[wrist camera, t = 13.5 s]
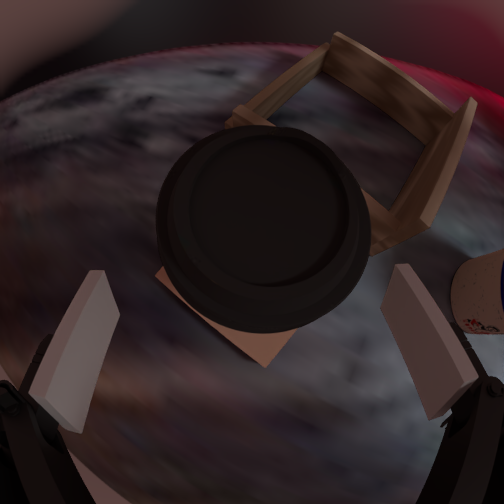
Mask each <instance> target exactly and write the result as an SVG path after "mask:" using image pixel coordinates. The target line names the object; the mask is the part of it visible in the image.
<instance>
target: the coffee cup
mask: <svg viewBox="0 0 504 504" xmlns="http://www.w3.org/2000/svg"><path fill="white" fill-rule="evenodd" d="M156 232H157V242H158V249H159V254H160V258H161V261H162V264H163V267H164V269H165V271H166V274H167V276H168V278H169V279H170V281H171V283H172V284H173V286H174V287H175V289H176V290H177V292H178V293H179V294H180V295H181V297H182V298H183V299H184V300H185V301H186V302H187V303H188V304H189V305H190V306H191V307H192V308H194V309H195V310H196V311H197V312H199V313H200V314H202V315H203V316H204V317H206V318H208V319H209V320H211V321H213V322H215V323H217V324H219V325H222V326H224V327H227V328H230V329H233V330H237V331H241V332H247V333H256V334H271V333H279V332H285V331H289V330H293V329H296V328H299V327H302V326H304V325H307V324H309V323H311V322H313V321H315V320H316V319H318V318H320V317H322V316H323V315H325V314H327V313H328V312H330V311H331V310H333V309H334V308H335V307H337V306H338V305H339V304H340V303H341V302H342V301H343V300H344V299H345V298H346V297H347V296H348V295H349V294H350V293H351V292H352V290H353V289H354V287H355V286H356V285H357V283H358V281H359V280H360V278H361V276H362V274H363V272H364V269H365V267H366V264H367V261H368V257H369V253H370V247H371V220H370V214H369V210H368V206H367V203H366V200H365V197H364V195H363V192H362V190H361V188H360V186H359V184H358V183H357V181H356V179H355V178H354V176H353V175H352V173H351V172H350V171H349V169H348V168H347V167H346V166H345V165H344V163H343V162H342V161H341V160H340V159H339V158H338V157H337V156H336V155H335V153H334V152H333V151H332V150H331V149H330V148H329V147H328V146H326V145H325V144H324V143H323V142H321V141H320V140H318V139H317V138H315V137H313V136H312V135H310V134H308V133H306V132H304V131H302V130H298V129H294V128H288V127H276V126H268V125H245V126H238V127H233V128H229V129H225V130H222V131H219V132H217V133H214V134H212V135H210V136H208V137H206V138H204V139H202V140H201V141H199V142H198V143H196V144H195V145H193V146H192V147H191V148H189V149H188V150H187V151H186V152H185V153H184V154H183V155H182V156H181V157H180V158H179V159H178V160H177V162H176V163H175V164H174V166H173V167H172V168H171V170H170V171H169V173H168V175H167V177H166V179H165V181H164V183H163V185H162V188H161V191H160V194H159V198H158V202H157V208H156Z"/></svg>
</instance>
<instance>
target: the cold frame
mask: <svg viewBox="0 0 504 504" xmlns="http://www.w3.org/2000/svg"><path fill="white" fill-rule="evenodd" d="M321 71H323V72H325V73H327V74H329V75H330V76H332V77H333V78H335V79H337V80H338V81H340V82H342V83H343V84H345V85H346V86H348V87H349V88H351V89H352V90H354V91H355V92H357V93H358V94H360V95H361V96H363V97H364V98H366V99H367V100H369V101H370V102H371V103H373V104H374V105H376V106H377V107H378V108H380V109H381V110H382V111H384V112H385V113H386V114H388V115H389V116H390V117H392V118H393V119H394V120H395V121H397V122H398V123H399V124H401V125H402V126H403V127H404V128H405V129H407V130H408V131H409V132H410V133H412V134H413V135H414V136H415V137H416V138H417V139H419V140H420V141H421V142H422V143H423V144H424V145H426V146H425V148H424V150H423V152H422V154H421V156H420V157H419V159H418V161H417V163H416V165H415V167H414V168H413V170H412V172H411V174H410V176H409V177H408V179H407V181H406V183H405V184H404V186H403V188H402V190H401V191H400V193H399V195H398V196H397V198H396V200H395V201H394V203H393V205H392V206H391V208H390V210H389V211H388V210H387V209H385V208H384V207H383V206H382V205H381V204H380V203H378V202H377V201H376V200H375V199H374V198H372V197H371V196H370V195H369V194H368V193H366V192H365V191H364V190H363V189H362V188H361V190H362V192H363V195H364V197H365V200H366V203H367V206H368V210H369V214H370V220H371V247H370V253H369V255H370V256H371V257H372V256H374V255H376V254H378V253H380V252H382V251H384V250H386V249H388V248H390V247H393V246H395V245H397V244H399V243H401V242H403V241H405V240H407V239H409V238H411V237H413V236H415V235H417V234H419V233H421V232H423V231H425V230H427V229H429V228H430V226H431V224H432V222H433V220H434V218H435V216H436V214H437V212H438V210H439V207H440V205H441V203H442V201H443V198H444V196H445V194H446V192H447V189H448V187H449V184H450V182H451V180H452V177H453V175H454V172H455V170H456V167H457V164H458V162H459V159H460V156H461V154H462V151H463V148H464V145H465V142H466V139H467V136H468V133H469V130H470V127H471V124H472V121H473V117H474V114H475V111H476V107H477V102H476V101H475V100H474V99H473V98H472V97H470V98H469V99H468V100H467V101H466V102H465V103H464V104H463V105H462V106H461V107H460V109H459V110H458V111H457V112H456V113H455V114H454V113H453V112H452V111H451V110H450V109H449V108H448V107H447V106H445V105H444V104H443V103H442V102H441V101H440V100H439V99H437V98H436V97H435V96H434V95H433V94H431V93H430V92H429V91H428V90H426V89H425V88H424V87H423V86H421V85H420V84H419V83H417V82H416V81H415V80H413V79H412V78H411V77H409V76H408V75H407V74H405V73H404V72H402V71H401V70H400V69H398V68H397V67H395V66H394V65H392V64H391V63H389V62H388V61H386V60H385V59H383V58H382V57H380V56H379V55H377V54H376V53H374V52H372V51H371V50H369V49H368V48H366V47H364V46H363V45H361V44H359V43H357V42H356V41H354V40H352V39H350V38H349V37H347V36H345V35H343V34H341V33H339V32H336V33H335V34H334V35H333V38H332V41H331V44H328V43H324V44H323V45H321V46H320V47H318V48H317V49H316V50H314V51H313V52H311V53H310V54H309V55H307V56H306V57H304V58H303V59H302V60H300V61H299V62H298V63H296V64H295V65H294V66H292V67H291V68H290V69H288V70H287V71H286V72H284V73H283V74H282V75H281V76H279V77H278V78H277V79H275V80H274V81H273V82H272V83H270V84H269V85H268V86H267V87H265V88H264V89H263V90H262V91H261V92H259V93H258V94H257V95H256V96H255V97H253V98H252V99H251V100H250V101H249V102H247V103H246V104H245V105H244V106H243V105H241V104H240V105H239V106H237V107H236V108H235V109H234V110H233V111H232V114H233V115H232V116H231V117H230V118H229V119H228V120H227V121H226V122H225V129H229V128H233V127H238V126H245V125H268V126H275V125H273V124H272V123H270V122H269V121H267V120H266V119H268V118H269V117H270V116H271V115H272V114H273V113H274V112H275V111H276V110H277V109H278V108H280V107H281V106H282V105H283V104H284V103H285V102H286V101H287V100H288V99H290V98H291V97H292V96H293V95H294V94H295V93H296V92H298V91H299V90H300V89H301V88H302V87H303V86H305V85H306V84H307V83H308V82H309V81H310V80H312V79H313V78H314V77H315V76H316V75H318V74H319V73H320V72H321Z"/></svg>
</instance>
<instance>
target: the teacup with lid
mask: <svg viewBox="0 0 504 504" xmlns="http://www.w3.org/2000/svg"><path fill="white" fill-rule="evenodd" d="M451 307H452V312H453V315H454V318H455V320H456V322H457V324H458V325H459V326H460V328H461V329H462V330H464V331H465V332H467V333H470V334H504V249H501V250H498V251H495V252H492V253H489V254H486V255H483V256H480V257H476V258H473V259H470V260H467V261H465V262H464V263H463V264H462V265H461V266H460V267H459V268H458V270H457V271H456V273H455V276H454V278H453V282H452V286H451Z"/></svg>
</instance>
